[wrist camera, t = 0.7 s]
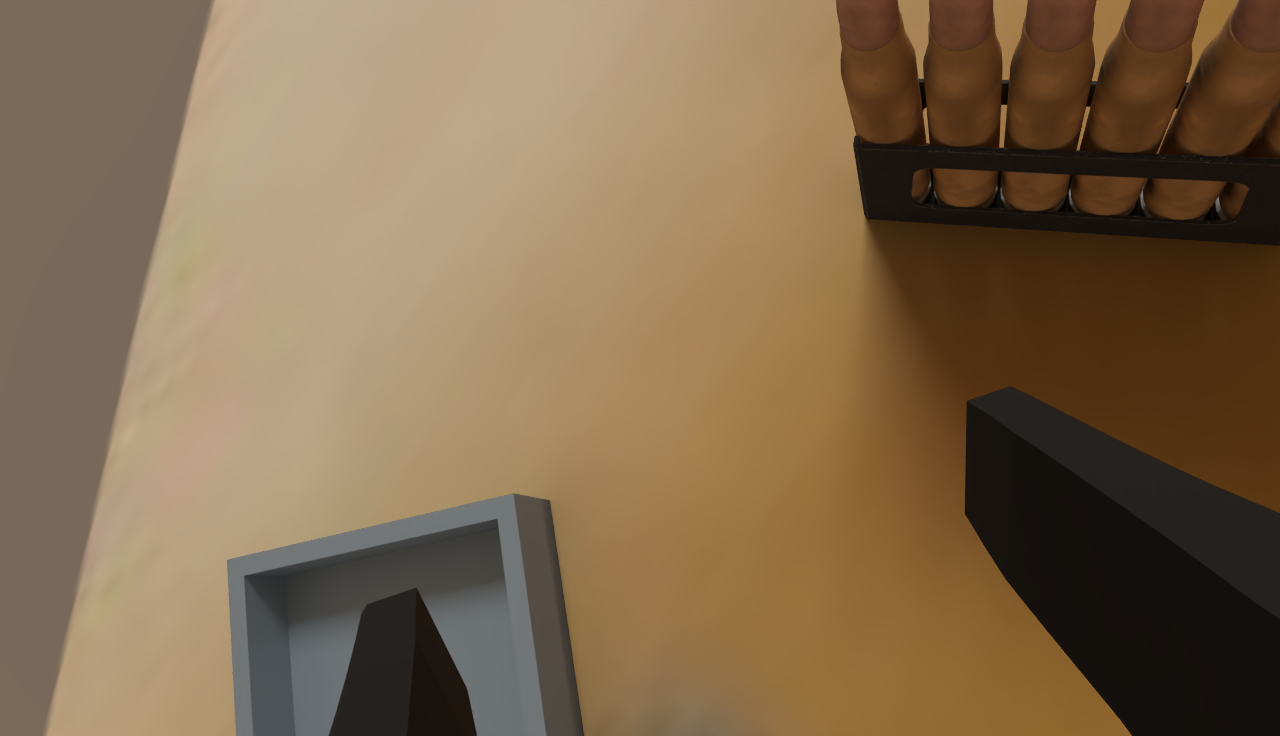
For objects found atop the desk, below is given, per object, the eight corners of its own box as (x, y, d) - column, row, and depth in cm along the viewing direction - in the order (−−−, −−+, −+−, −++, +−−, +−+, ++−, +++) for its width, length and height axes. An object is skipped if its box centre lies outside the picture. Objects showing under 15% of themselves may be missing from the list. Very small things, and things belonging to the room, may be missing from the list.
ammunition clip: (1292, 177, 25) (1547, -147, 14) (1286, 246, 25) (1541, -30, 14) (873, 159, 29) (808, -107, 18) (864, 218, 28) (793, -15, 17)
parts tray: (600, 851, 27) (565, 876, 25) (302, 886, 30) (245, 911, 27) (549, 500, 30) (513, 493, 27) (280, 561, 32) (226, 559, 30)
